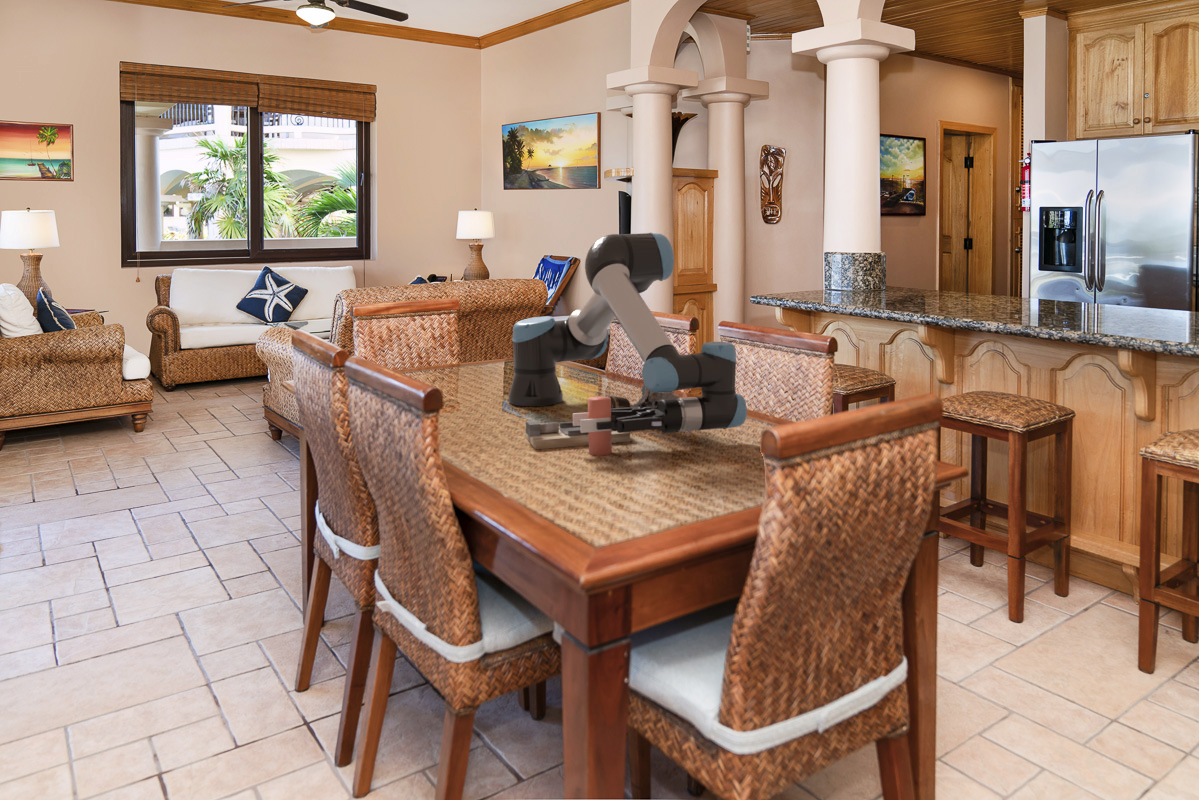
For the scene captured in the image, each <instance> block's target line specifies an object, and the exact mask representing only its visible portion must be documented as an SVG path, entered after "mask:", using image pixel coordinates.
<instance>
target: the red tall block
mask: <svg viewBox="0 0 1199 800" xmlns="http://www.w3.org/2000/svg"><path fill="white" fill-rule="evenodd" d="M587 412H588V419H596V418H609V417H610V418H611V398H610V397H608V396H600V395H599V396H591V397H588V398H587ZM588 433H589V445H588V454H590V455H592V456H599V457H600V456H607V455H609V456H610V454H612V453H613V447H612V446H613V443H612V434H611V431H599V432H588Z"/></svg>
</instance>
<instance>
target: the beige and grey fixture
mask: <svg viewBox="0 0 1199 800" xmlns="http://www.w3.org/2000/svg"><path fill="white" fill-rule="evenodd" d="M524 431H525V434H524V435H525V436H524V437H525V439H526V440H527V441H528V442H529V443H530V445H531V446H532V447H533V448H534V449H535V450H542V449H543V450H544V449H555V448H565V447H566V448H567V447H578V446H579V447H581V446H589V433H588V432H586V433H581V432H580V426H573V421H566V422H558V421H556V422H555V421H553V422H539V421H538V420H537V419H534V420H533V419H532V420H525V428H524ZM611 434H612V444H615V443H627V442H631V432H621V433H618V432H617V431H612V429H611Z"/></svg>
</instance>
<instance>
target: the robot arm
mask: <svg viewBox="0 0 1199 800" xmlns="http://www.w3.org/2000/svg"><path fill="white" fill-rule="evenodd" d="M674 266H675V255H674V250H673V246H672V244H671V242H670V240H669V239H668V237H667V236H665V235H664V234H662V233H653V232H647V233H646V232H645V233H626V234H625V233H620V234H619V233H614V234H613V233H612V234H606V235H604V236H601V237H600V238H599V239H597V240H595V241H594V243H592V245H591V246H590V248H589V250H588V251H587V254H586V257H585V261H584V270H585V276H586V279H587V281H588V284H589V285H590V288H591V289H592V290H593V292H594V293H593V294H592V296H591V297H589V299H588V300H587V302H586V303H585V305H583V307H582V308H578V309H575V310H574V311H573V312H572V313H571V314H570V315H569V317H568V318H567V319H564V320H561V319H560V320H555V318H554V317H553V316H550V315H546V316H544V315H543V316H535V317H529V318H525V319H522V320H519V321H517V322H516V323H514V325H513V327H512V337H511V339H512V340H511V341H512V349H513V350H512V352H513V355H512V356H513V372H514V373H513V379H512V381H511V385H510V390H509V393H508V403H509V404H511V405H514V406H520V407H521V406H522V407H543V406H552V405H557V404H560V403H562V402H563V400H564V398H563V397H564V394H563V391H562V388H561V385H560V382H559V380H558V379H559V378H558V376H557V369H556V363H561V362H562V363H563V362H571V361H582V360H585V361H589V360H592V359H596V358H597V359H598V358H599V357H600V356H602V355H603V354H604V353H605V351H606V349H607V347H608V344H607V343H608V342H609V331H608V327H609V326H610V325H611V324H612V322H613V321H614V320H615V319H616V320H617V322H618V324H619V325H620V326H621V328H622V331H624V333H625V334H626V337H628V339H629V341H630V342H631V344H632V346H633V347H634V349H635V350H636V352H637V353H638V355H639V356H640V358H641V359H642V362H643V366H642V368H641V369H642V370H641V372H642V373H641V376H642V378H643V384H645V386H646V387H647V389H648V390H650V391H652V392H676V391H682V390H683V391H684V390H690V389H698V388H701V396H690V397H689V396H687V397H680V398H678V399H677V400H676V399H662V400H660V401H659V402H658V406H657V408H656V409H651V407H644V408H643V406H637V407H627V408H611V418H610V417H609V418H596V419H588V411H587V412H573V413H572V422H573V426H580V432H581V433H586V432H599V431H611V429H612V431H617V432H618V433H621V432H629V433H631V432H638V431H639V432H640V431H641V432H642V431H649V430H650V431H651V430H658V431H659V430H660V432H662V433H663V434H671V433H679V432H688V433H687V434H692V433H693V431H703V430H721V429H723V430H726V429H730V428H737V427H741V426H742V425H743V424H744V423H745V422H746V420H747V416H748V408H747V403H746V402H747V401H746V399H745V397H744V396H743V395H741V394H739V393H737V392H736V375H737V373H736V372H737V352H736V346H735V345H734V344H733V343H732V342H729V341H728V342H727V341H708V342H704V343H703V344H701V345H702V346H701V351H700V352H699V353H690V354H680V352H679V351H678V350H677V348H676V347H675V345H674V343H673V342H672V341H671V339H670V338H669V336H668V335H667V334H666V332H665V330H664V328H663V327H662V326H661V325H660V323H659V321H658V319H657V318H656V317H655V316H654V315H655V314H654V313H653V312H652V310H651V309H650V308H649V306H648V305H647V303H646V301H645V300H644V299H643V297H642V295H641V294H642V293H644V292H646V291H647V290H648V289H649V288H650V286H651V285H652V284H653V283H655V282H657V281H660V282H663V281H666V280H668V279H669V278H670V277H671V276H672V273H673V271H674Z"/></svg>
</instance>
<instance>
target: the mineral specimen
mask: <svg viewBox="0 0 1199 800" xmlns="http://www.w3.org/2000/svg"><path fill="white" fill-rule="evenodd" d="M641 394H642V396H641V398H639V399H638V401H637V402H636V403H634V404H632V405H631V404H630V406H631V407H637V406H643V408H644V407H651V409H656V408H657V406H658V402H659V401H660V400H662V399H676V400H677V399H678V398H681V396H680V395H678V394H675V393H674V391H672V392H652V391H650V390H648V389H647V387H646V386H645V384H644V383H643V386H642V387H641Z"/></svg>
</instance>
